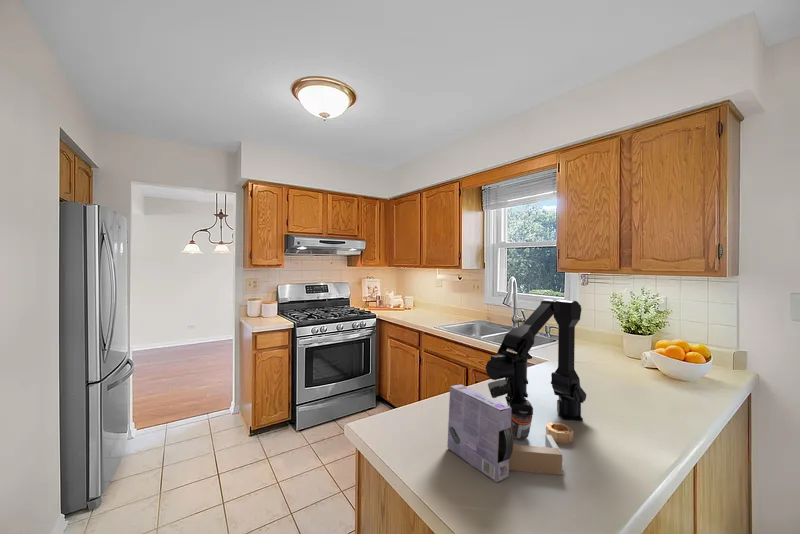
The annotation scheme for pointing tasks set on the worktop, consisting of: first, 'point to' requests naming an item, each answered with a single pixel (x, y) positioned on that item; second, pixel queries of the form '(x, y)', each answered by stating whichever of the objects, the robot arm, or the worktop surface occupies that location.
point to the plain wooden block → (537, 458)
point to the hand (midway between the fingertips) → (515, 423)
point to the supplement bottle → (520, 425)
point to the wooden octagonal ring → (560, 432)
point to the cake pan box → (480, 431)
